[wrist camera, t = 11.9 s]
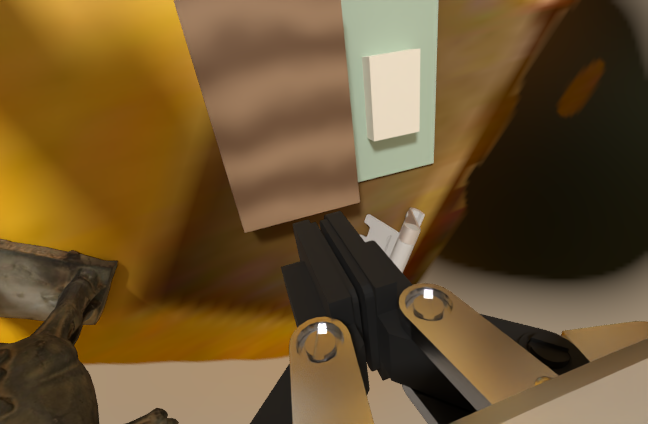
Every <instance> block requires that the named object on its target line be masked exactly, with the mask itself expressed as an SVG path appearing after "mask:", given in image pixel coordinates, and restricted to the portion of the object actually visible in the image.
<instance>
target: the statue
mask: <svg viewBox="0 0 648 424" xmlns="http://www.w3.org/2000/svg"><path fill="white" fill-rule="evenodd" d="M117 262H118V261H104V260H101V259H97V258H94V257H90V256H86V255H82V254H79V253H77V252H76V251H74V250H71V251H69V252H66V251H61V250H56V249H52V248H48V247H42V246H36V245H29V244H22V243H15V242H9V241H7V240H3V239H0V317H6V318H23V319H32V320H39V321H44V322H43V323H42V325H41V326H40V327H39V328H38V329H37V330H36V331H35V332H34V333H33V334H32V335H31V336H30V337H27V338H25V339H22V340H20V341H18V342H15V343H10V344H8V343H0V424H99V415H98V405H97V399H96V394H95V389H94V386H93V383H92V380H91V377H90V374H89V373H88V371H87V370H86V368H85V367H84V365H83V364H82V363H81V362H80V361H79V360H78V354H77V351H76V349H75V347H74V344H75V343H76V341H77V339H78V338H79V335H80V332H81V329H82V326H83V325H94V324H96V323H97V321H98V320H99V318H100V316H101V314H102V312H103V309H104V306H105V303H106V300H107V296H108V293H109V289H110V285H111V281H112V278H113V275H114V273H115V270H116V268H117ZM167 416H168V414H167V412H166V411H165V410H163V409H159V408H156V409H154V410H153V411H151V412H150V413H148V414H147V415H145V416H142V417H140V418H138V419H136V420H134V421H131V422H129V423H126V424H178V423H179V422H178V421H177V420H176V419H173V418H167Z"/></svg>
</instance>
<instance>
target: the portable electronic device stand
mask: <svg viewBox="0 0 648 424" xmlns="http://www.w3.org/2000/svg"><path fill="white" fill-rule="evenodd" d="M424 216H425V214H424V213H423V212H422V211H420V210H418V209H416V208H409V211H408V212H407V214H406V216H405V217H406V218H405V221H404V223H403V225H402V228H401V230H400V233H399V232H397V231H396V230H394V229H393V228H391V227H389V226H388V225H386V224H385V223H383V222H381V221H380V220H378V219H377V218H375V217H373V216H372V215H370V214H368V215H367V216H366V218H365V221H364V222H365V223H366V224H367V225H368V226H369V227H370V230H369V233H368V236H367V237H365V236H363V235H360V236H361V238H362V239H363V240H364V241H365V242H368V241H371V240H373V241H375V242H376V243H377V244H378V245H379V246H380V247H381V249H382V250H383V251H384V252H385V253H386V254H387V256H388V257H389V258H390V259H391V260H392V261H393V263H394V264H395V265H396V266H397V267H398V269H399V270H400V271H401V272H402V273H403V270H404V268H405V266H406V263H407V261H408V259H409V257H410V254H411V252H412V250H413V247H414V245H415V243H416V240H417V238H418V236H419V233H420V231H421V229H420V225H421V223H422V220H423V218H424Z"/></svg>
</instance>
